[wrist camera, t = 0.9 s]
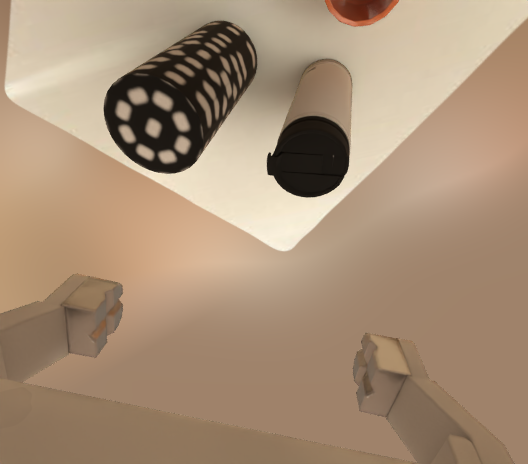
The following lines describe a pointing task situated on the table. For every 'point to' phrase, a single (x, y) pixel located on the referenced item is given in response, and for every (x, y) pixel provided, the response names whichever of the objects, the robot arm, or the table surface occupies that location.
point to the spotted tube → (180, 97)
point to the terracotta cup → (360, 10)
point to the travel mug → (315, 133)
